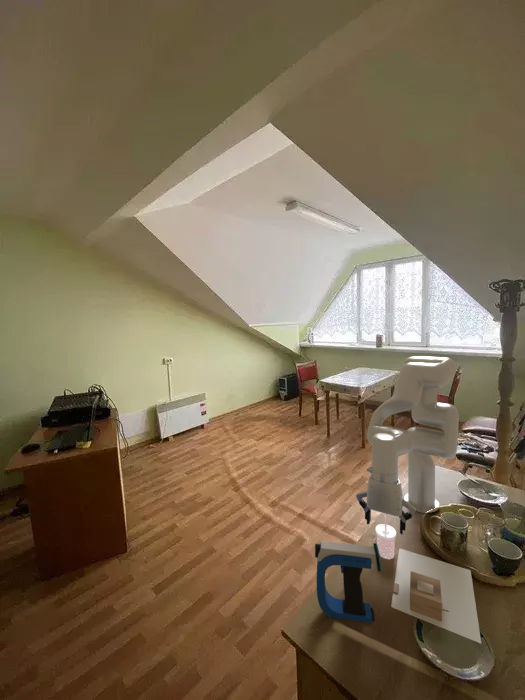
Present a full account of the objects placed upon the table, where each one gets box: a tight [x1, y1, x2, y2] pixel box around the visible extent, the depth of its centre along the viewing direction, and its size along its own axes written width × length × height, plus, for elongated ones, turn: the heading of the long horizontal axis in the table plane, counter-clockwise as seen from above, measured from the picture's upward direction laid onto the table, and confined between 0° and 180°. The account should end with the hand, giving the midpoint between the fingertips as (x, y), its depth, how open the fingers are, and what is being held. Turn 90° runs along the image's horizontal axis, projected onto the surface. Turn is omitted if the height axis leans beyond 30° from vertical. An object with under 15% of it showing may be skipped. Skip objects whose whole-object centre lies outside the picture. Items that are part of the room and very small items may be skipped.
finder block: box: [410, 571, 442, 622], centre depth 76 cm, size 7×7×5 cm
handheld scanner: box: [314, 540, 383, 624], centre depth 75 cm, size 5×16×20 cm, turn 78°
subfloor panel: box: [390, 548, 482, 644], centre depth 81 cm, size 22×24×2 cm
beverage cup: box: [374, 514, 397, 560], centre depth 93 cm, size 6×6×14 cm
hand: (384, 526), depth 92 cm, fingers open, 9 cm apart
